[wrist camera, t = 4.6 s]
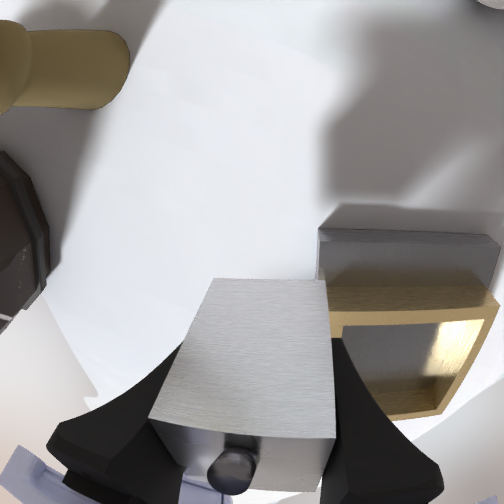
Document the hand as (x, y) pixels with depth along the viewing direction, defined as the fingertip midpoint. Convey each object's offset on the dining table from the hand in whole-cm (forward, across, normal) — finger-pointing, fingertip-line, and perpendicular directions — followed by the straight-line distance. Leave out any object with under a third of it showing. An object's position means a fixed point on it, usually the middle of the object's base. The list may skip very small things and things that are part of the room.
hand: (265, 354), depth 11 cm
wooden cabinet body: (+9, -9, +7) cm, 15 cm away
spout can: (+2, 0, 0) cm, 2 cm away
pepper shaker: (+9, +12, -14) cm, 21 cm away
